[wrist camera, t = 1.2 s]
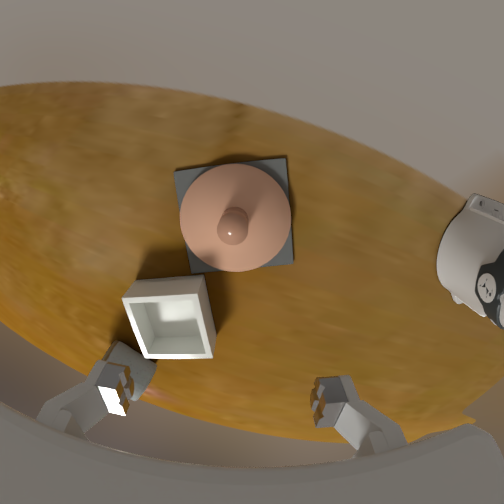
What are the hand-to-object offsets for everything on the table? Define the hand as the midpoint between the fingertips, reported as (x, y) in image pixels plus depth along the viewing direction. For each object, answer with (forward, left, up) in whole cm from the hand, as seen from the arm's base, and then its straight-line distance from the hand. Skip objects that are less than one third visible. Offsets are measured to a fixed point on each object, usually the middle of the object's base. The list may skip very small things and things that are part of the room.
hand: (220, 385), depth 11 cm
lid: (+1, -1, -24) cm, 24 cm away
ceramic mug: (+22, +21, -25) cm, 39 cm away
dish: (+11, +11, -24) cm, 29 cm away
